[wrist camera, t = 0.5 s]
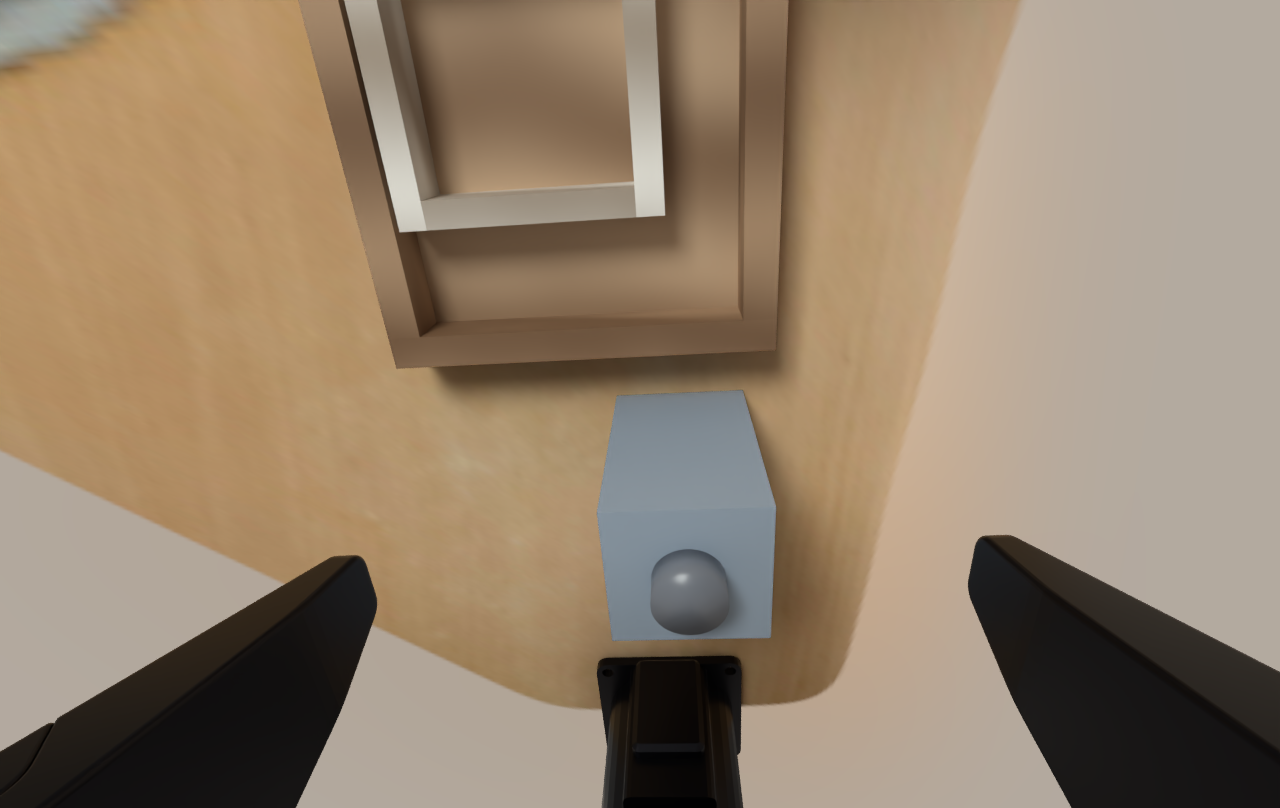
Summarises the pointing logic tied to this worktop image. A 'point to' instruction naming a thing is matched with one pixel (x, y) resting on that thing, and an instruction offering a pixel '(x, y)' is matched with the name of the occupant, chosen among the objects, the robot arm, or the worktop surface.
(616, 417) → the block
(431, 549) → the worktop surface
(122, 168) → the worktop surface
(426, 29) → the walnut box
